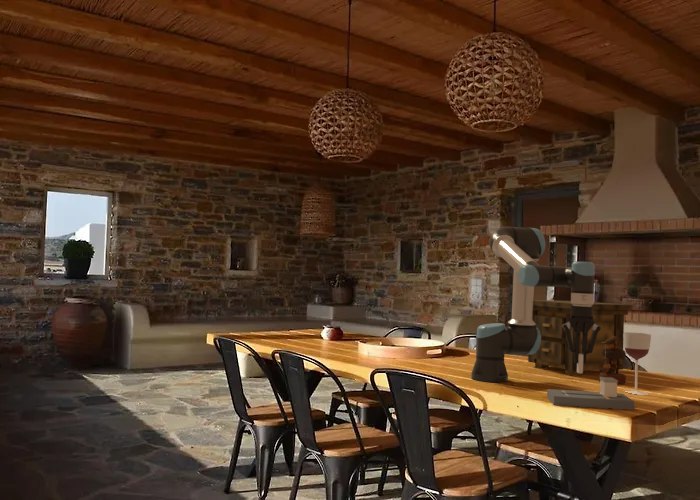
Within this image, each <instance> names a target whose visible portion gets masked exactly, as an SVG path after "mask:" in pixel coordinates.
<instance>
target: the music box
mask: <svg viewBox="0 0 700 500" xmlns="http://www.w3.org/2000/svg"><path fill="white" fill-rule="evenodd" d="M617 340H618V339H617V337H615V336H613V337H612V338H609V339H607V340H605V341H603V342H600V343H605V344H608V349H606V346H605V349H604V350H603V351H602V354H603V356H604V357H605V358H603V361H609V364H607V366H606V364H604V366H603V368H602V370H603V372H601V373H600V372H599V382H600V377H610V378H614V379H616V380H618V383H617V385H626V384H625V383H626V382H627V376H626V375H625V374H624V373H620V372H619V370H618V367H619V366H622V365H621V364H620V363H619V362H621V361H619V359H623V360H624V359H625V358H626V356H627V353H626V351H625V349H623V350H621V349H618V348H617V346H615V348H614V346H611V348H610V349H609V345H611V344H614V343H616V344H617ZM613 359H615V361H613ZM611 367H612V368H613V369H616V370H615V372H611V370H612V368H611Z"/></svg>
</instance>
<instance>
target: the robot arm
mask: <svg viewBox="0 0 700 500" xmlns="http://www.w3.org/2000/svg"><path fill="white" fill-rule="evenodd" d="M488 245H489V249H490V250H491V252H492V253H493V254H494V255H495V256H496V257H500V258H502V259H503V260H504V261H505V262H506V263H507V264H508V265H509V266H510V267H512V269H513V281H512V302H511V304H512V305H511V307H512V308H511V319H510V320H508V321H507V326H506V324H505V323H501V322H498V323H492V322H491V323H485V324H481V325H479V326H478V327H477V329H476V336H475V337H476V338H475V339H476V340H475V341H476V344H475V345H476V347H475V349H476V350H475V352H476V353H475V362H474V365H473V368H472V370H471V375H470V376H471V377H470V379H472V380H475V381H478V382H479V381H480V382H488V383H506V382H508V381H509V374H508V370H507V367H506V364H505V356H506V355H509V356H510V355H513V356H514V355H518V356H521V355H522V356H528V355H531V354H534V353H536V352H537V350H538V349H539V347H540V343H541V334H540V330H539V329H538V328H536V323H535V322H534V321H533V320H532V319H533V300H534V294H535V293H534V291H535V287H551V288H553V287H554V288H570V289H571V290H570V301H571V304H572V306H571V312H570V319H569V322H567V323H566V324H563V325H562V327H563V328H564V330H565V333H566V338H567V343H568V347H569V351H571V352H573V353H574V362H575V363H577V372H578V373H580V374H583V373H584V370H583V363H584V364H586V355H587V354H588V353H592V351H593V347H594V344H595V340H596V337H597V333H598V332H599V331H600V329H601V327H600V326H597V325H596V324H595V323H594V320H593V307H592V305H593V302H595V301H594V291H595V276H596V275H595V274H596V272H595V263H593V262H591V261H573V262H572V264H571V266H558V265H557V266H556V265H555V266H552V265H540V264H539V263H538V261H540V257H541V256H542V255H543V254H544V252H545V250H546V239H545V236H544V234H543V232H542V231H541V230H540V229H538V228H535V227H528V226H527V227H526V226H525V227H521V226H520V227H519V226H518V227H517V226H501V227H499V228H497V229H495V230H494V231H493V232H492V233H491V235H490V237H489V239H488ZM570 325H571V326H572V328H573V329H574V330H575V341H574V348H573V344H572V339H571V334H570V330H569V329H570ZM592 326H593V328H592V329H593V332H592V335H591V338H590V342H589V345H588V349H587V335H588V331H589V330H590V329H591V327H592ZM580 332H582V354H579V342H580Z"/></svg>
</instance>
